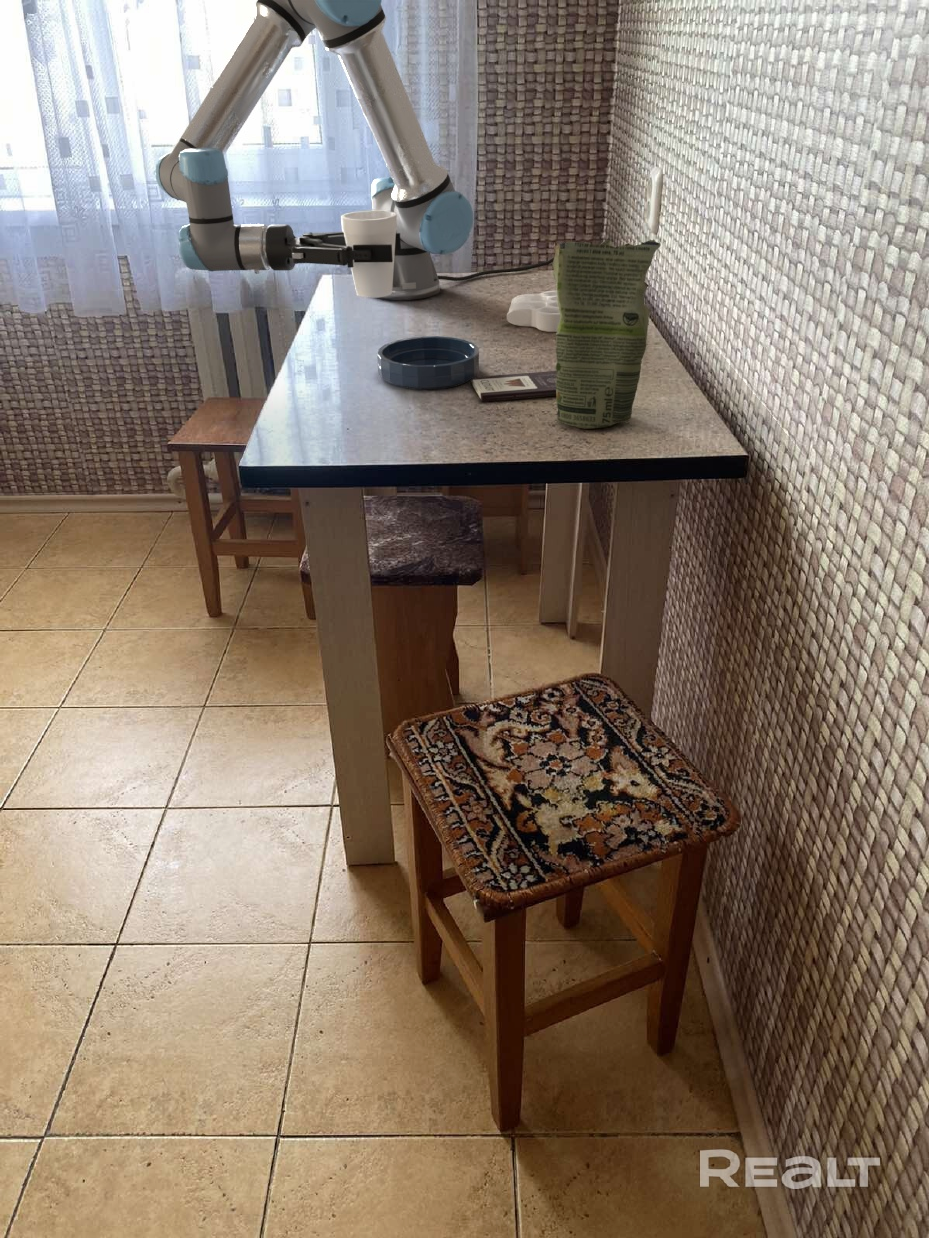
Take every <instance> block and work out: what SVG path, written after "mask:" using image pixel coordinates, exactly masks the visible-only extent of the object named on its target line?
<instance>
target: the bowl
mask: <svg viewBox="0 0 929 1238" xmlns="http://www.w3.org/2000/svg"><path fill="white" fill-rule="evenodd" d="M376 357H377V373H378V376H379V377H380V378H381V379H382V380H384V381H385V382H387V383H389V384H391V385H394V386H396V387H400V388H405V389H411V390H440V389H441V390H442V389H447V388H453V387H456V386H460V385H462V384H465V383H467V382H469V381H471V377H477V376H478V374H480V347H478V346H477V344H475V343H474V342H471V341H469V340H466V339H461V338H456V337H450V336H439V335H438V336H437V335H435V336H431V335H429V336H426V335H425V336H424V335H423V336H415V337H406V338H402V339H396V340H393V341H390V342H388V343H385V344H384V345H381V347H379V348H378V350H377V353H376Z"/></svg>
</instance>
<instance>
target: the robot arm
mask: <svg viewBox="0 0 929 1238" xmlns="http://www.w3.org/2000/svg"><path fill="white" fill-rule="evenodd" d="M254 12H255V17H254V18H253V20H252V22H251V23H250V24H249V26H248V28H247V29H246V31H245V33H244V34H243V36H242V38H241V39H240V41H239V43H238V44H237V46H236V48H235V49H234V50H233V52H232V54H231V55H230V57H229V59H228V60H227V62H226V64H225V65H224V67H223V68H222V69H221V72H220V74H219V75H218V77H217V78H216V80H215V82H214V83H213V84H212V86H211V88H210V90H209V91H208V93H207V94H206V96H205V97H204V99H203V101H202V102H201V104H200V106H199V107H198V109H197V111H196V112H195V114H194V115H193V117H192V119H191V120H190V122H189V124H188V125H187V126H186V128H185V130H184V132H183V133H182V135H181V136H180V138H179V139H178V140H177V142H176V144H175V145H174V147H173V149H172V150H171V151H170V152H167V153H165V154H164V155H162V156H160V158H159V159H158V160H157V162H156V164H155V168H154V169H155V171H154V174H155V175H154V176H155V179H156V182H157V184H158V186H159V188H160V189H161V190H162V191H163V192H164V193H165V194H167V195H168V196H169V197H170V198H171V199H175V200H177V201H181V202H184V203H185V204H186V208H187V214H188V223H189V224H186V225H183V226H181V228H180V230H179V232H178V238H177V239H178V252H179V255H180V258H181V260H182V263H183V264H184V266H185V267H186V268H188V269H190V270H193V271H208V272H221V271H222V272H225V271H227V272H228V271H253V273H254V274H256V275H258V274H260V271H269V270H270V269H271V270H273V271H277V272H278V271H279V272H281V271H292V270H294V268H295V267H296V265H297V264H314V265H330V266H331V265H333V266H342V267H345V266H347V268H348V269H351V267H354V266H353V260H354V262H393V258H392V245H353V250H352V247H350V246H346V241H345V237H344V232H343V231H332V232H331V231H330V232H329V231H328V232H311V231H309V232H306V233H303V234H302V236H299V237H296V236H295V234H294V229H293V228H292V227H291V225H289V224H270V225H266V224H265V223H261V224H260V223H257V224H256V223H255V224H251V223H250V224H235V222H234V215H233V208H232V200H231V199H232V198H231V191H230V184H229V171H228V169H227V165H226V160H225V155H226V153H227V151H228V150H229V148H230V147H231V145H232V144H233V143H234V140H235V139H236V137H237V136H238V134H239V133H240V131H241V129H242V127H243V126H244V124H245V123H246V122H247V120H248V118H249V116H250V115H251V114H252V112H253V110H254V109H255V107H256V106H257V105H258V103H259V101H260V99H261V98H262V97H263V94H264V93H265V92H266V90H267V88H268V87H269V85H270V84H271V82H272V81H273V79H274V77H275V76H276V74H277V73H278V71H279V69H280V68H281V66H282V65H283V63H284V61H285V60H286V58H287V57H288V55H289V54H290V52H291V50H292V49H293V48H299V47H301V46H302V45H303V43H304V41H305V40H306V38H307V37H308V36H309V34H311V33H312V32H313V31H314V30H315V29H316V31H317V33H318V36H319V38H320V41H321V42H322V44H323V46H324V47H323V48H325V50H326V51H328V52H329V53H333V54H336V56H337V57H338V58H339V61H340V64H341V65H342V68H343V70H344V72H345V75H346V77H347V79H348V81H349V84H350V86H351V88H352V90H353V93H354V96H355V97H356V100H357V102H358V104H359V106H360V108H361V111H362V113H363V115H364V118H365V119H366V123H367V125H368V127H369V129H370V131H371V134H372V136H373V138H374V140H375V142H376V145H377V147H378V150H379V151H380V154H381V156H382V158H383V161H384V163H385V165H386V167H387V169H388V172H389V174H390V176H387V177H378V178H375V179H374V180H373V181H372V183H371V194H370V201H371V210H379V211H390V212H394V213H395V214H396V216H397V230H396V238H395V254H394V270H393V286H392V293H391V294H390V295H388V296H385V297H378V299H382V300H391V301H411V300H421V299H426V298H431V297H433V296H435V295H438V293H440V291H441V290H440V289H441V288H440V287H441V286H440V280H441V281H451V282H452V281H453V282H462V281H468V280H470V279H474V278H478V277H481V276H487V275H495V274H504V273H516V272H522V271H527V270H532V269H536V268H539V267H545V266H548V265H550V264H552V262H553V260H554V257H552V258H550V259H548V260H547V261H543V262H538V263H534V264H530V265H526V266H520V267H512V268H501V269H491V270H483V271H479V272H476V273H472V274H469V275H465V276H450V275H438V273H437V270H436V267H435V264H434V261H433V257H432V255H445V256H446V255H450V254H453V253H455V252H457V251H458V250H459V249H461V248H462V247H463V246H464V245H465V244H466V242H467V241H468V239H469V237H470V235H471V230H472V229H473V226H474V211H473V207H472V204H471V203H470V201H469V200H468V198H467V197H466V196H465V195H463V193H461V192H460V191H457V190H455V188H454V185H453V183H452V180H451V177H450V175H449V173H448V172H449V171H448V170H447V168H445V167H443V166H441V165H438V164H436V162H435V159H434V157H433V154H432V152H431V150H430V146H429V144H428V142H427V140H426V139H427V138H426V136H425V135H424V132H423V130H422V127H421V125H420V122H419V120H418V117H417V114H416V111H415V110H414V107H413V105H412V102H411V100H410V98H409V95H408V92H407V90H406V88H405V85H404V83H403V80H402V78H401V76H400V72H399V70H398V68H397V66H396V62H395V60H394V57H393V55H392V53H391V50H390V48H389V46H388V43H387V41H386V38H385V36H384V33H383V31H384V30H383V29H384V26H385V22H386V20H387V16H386V14H385V12H384V9H383V6H382V0H256V2H255V4H254ZM431 254H432V255H431Z"/></svg>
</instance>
